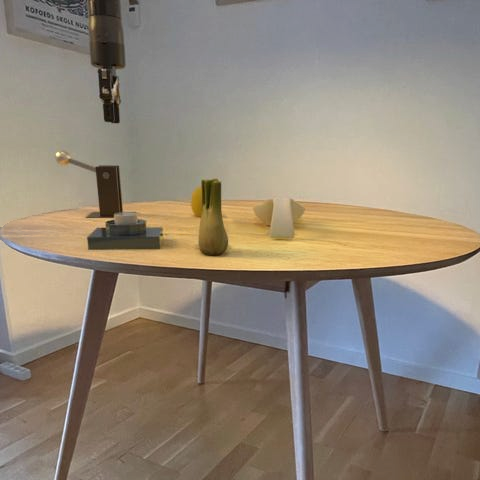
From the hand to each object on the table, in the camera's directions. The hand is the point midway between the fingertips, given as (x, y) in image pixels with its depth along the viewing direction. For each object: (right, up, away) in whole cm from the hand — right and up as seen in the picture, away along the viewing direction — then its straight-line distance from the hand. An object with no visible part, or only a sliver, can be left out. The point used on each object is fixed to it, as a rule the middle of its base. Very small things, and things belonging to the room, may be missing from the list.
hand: (112, 122), depth 109 cm
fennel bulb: (+25, -35, -31) cm, 53 cm away
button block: (+10, -32, -25) cm, 42 cm away
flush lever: (-5, -13, -5) cm, 15 cm away
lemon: (+21, -23, 0) cm, 31 cm away
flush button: (+10, -29, -26) cm, 40 cm away
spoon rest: (+38, -27, -9) cm, 47 cm away
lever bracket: (0, -23, -1) cm, 23 cm away
